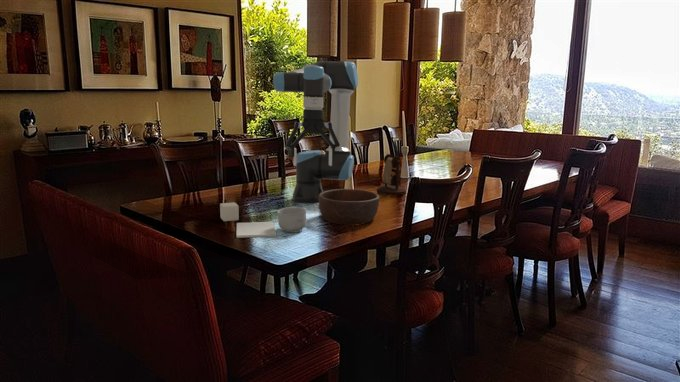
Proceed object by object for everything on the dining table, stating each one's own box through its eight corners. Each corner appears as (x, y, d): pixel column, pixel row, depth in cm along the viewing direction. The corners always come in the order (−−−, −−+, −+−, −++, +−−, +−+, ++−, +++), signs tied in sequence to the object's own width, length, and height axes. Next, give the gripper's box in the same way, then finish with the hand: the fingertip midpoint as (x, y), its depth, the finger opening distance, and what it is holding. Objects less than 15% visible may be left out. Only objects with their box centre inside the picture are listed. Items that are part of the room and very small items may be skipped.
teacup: (301, 235, 189) (301, 214, 187) (273, 233, 191) (273, 212, 189) (311, 225, 202) (311, 205, 200) (284, 223, 204) (284, 203, 202)
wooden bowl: (332, 230, 196) (332, 203, 194) (309, 214, 218) (309, 190, 216) (389, 224, 206) (390, 199, 204) (362, 209, 228) (363, 186, 226)
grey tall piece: (370, 192, 263) (372, 153, 259) (394, 190, 270) (396, 152, 266) (387, 198, 250) (389, 157, 246) (411, 195, 257) (413, 156, 253)
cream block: (235, 216, 213) (234, 202, 212) (238, 220, 208) (238, 205, 207) (220, 217, 210) (220, 203, 209) (223, 221, 205) (223, 206, 204)
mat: (273, 223, 203) (273, 221, 203) (275, 236, 187) (275, 234, 187) (236, 224, 201) (236, 222, 200) (236, 237, 184) (236, 235, 184)
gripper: (280, 108, 186) (280, 167, 190) (348, 109, 191) (346, 166, 195) (278, 108, 193) (278, 164, 197) (343, 109, 198) (342, 163, 202)
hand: (312, 165), depth 196 cm, fingers open, 13 cm apart
